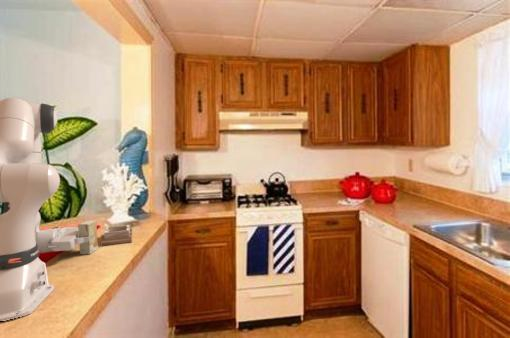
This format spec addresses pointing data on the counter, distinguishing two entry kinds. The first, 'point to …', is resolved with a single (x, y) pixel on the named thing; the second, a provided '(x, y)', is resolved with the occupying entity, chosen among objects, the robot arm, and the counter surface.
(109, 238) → the collar stand
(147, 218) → the counter surface
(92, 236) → the skincare box
